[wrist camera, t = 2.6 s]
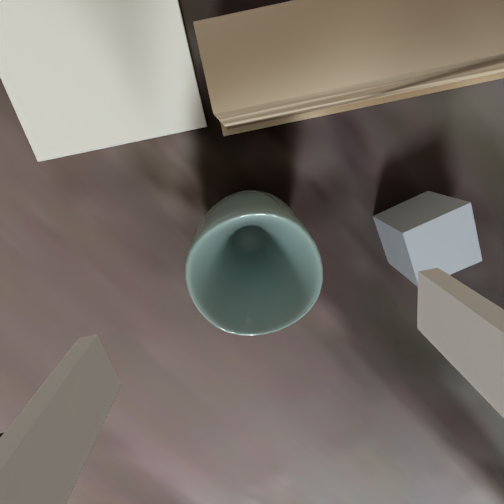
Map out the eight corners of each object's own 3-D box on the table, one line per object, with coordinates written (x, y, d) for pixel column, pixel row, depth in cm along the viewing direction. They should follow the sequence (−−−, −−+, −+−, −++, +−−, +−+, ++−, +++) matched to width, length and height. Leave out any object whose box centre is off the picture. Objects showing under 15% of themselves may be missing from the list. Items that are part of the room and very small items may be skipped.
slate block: (372, 216, 26) (402, 233, 21) (427, 190, 25) (470, 202, 21) (387, 262, 28) (419, 287, 23) (439, 239, 27) (482, 260, 22)
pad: (-54, -58, 18) (-63, -64, 17) (154, -105, 18) (151, -113, 17) (42, 161, 23) (37, 161, 22) (207, 126, 22) (206, 126, 22)
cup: (188, 201, 24) (159, 240, 15) (276, 168, 24) (303, 188, 14) (222, 279, 27) (216, 353, 18) (302, 251, 27) (339, 313, 17)
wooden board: (215, 96, 22) (171, 4, 7) (496, 37, 21) (1109, -199, 6) (223, 136, 23) (201, 133, 8) (491, 80, 22) (1010, -35, 7)
